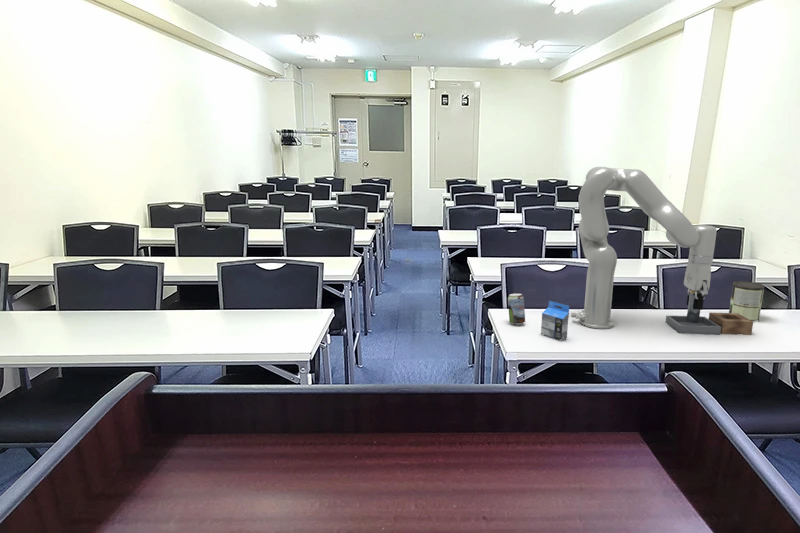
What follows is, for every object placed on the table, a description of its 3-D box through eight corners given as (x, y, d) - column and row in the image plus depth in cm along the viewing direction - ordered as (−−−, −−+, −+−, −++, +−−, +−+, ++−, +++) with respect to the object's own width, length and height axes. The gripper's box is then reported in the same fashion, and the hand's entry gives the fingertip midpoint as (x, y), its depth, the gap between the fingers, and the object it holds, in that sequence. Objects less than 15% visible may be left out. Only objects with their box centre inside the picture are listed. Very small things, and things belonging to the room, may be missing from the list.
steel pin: (689, 323, 177) (693, 292, 174) (684, 319, 180) (688, 289, 178) (700, 323, 176) (704, 292, 174) (695, 320, 180) (699, 289, 177)
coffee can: (722, 314, 195) (726, 281, 192) (747, 314, 195) (752, 281, 192) (738, 322, 185) (744, 287, 182) (765, 322, 185) (771, 287, 182)
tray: (678, 333, 174) (679, 325, 173) (665, 322, 186) (666, 315, 185) (720, 334, 172) (721, 326, 172) (703, 323, 184) (704, 316, 183)
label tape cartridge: (540, 334, 174) (541, 302, 172) (546, 332, 177) (548, 300, 174) (561, 341, 167) (563, 307, 165) (567, 338, 170) (569, 305, 167)
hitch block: (721, 333, 173) (723, 320, 172) (707, 324, 183) (709, 312, 182) (751, 334, 172) (753, 321, 171) (735, 325, 181) (737, 313, 180)
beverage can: (519, 327, 181) (520, 297, 179) (503, 323, 187) (504, 293, 184) (528, 324, 185) (530, 294, 183) (512, 319, 191) (514, 290, 188)
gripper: (679, 254, 182) (673, 300, 186) (700, 263, 166) (694, 313, 169) (700, 255, 181) (694, 301, 185) (723, 264, 165) (716, 314, 169)
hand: (694, 306), depth 177 cm, fingers closed on steel pin, 4 cm apart
